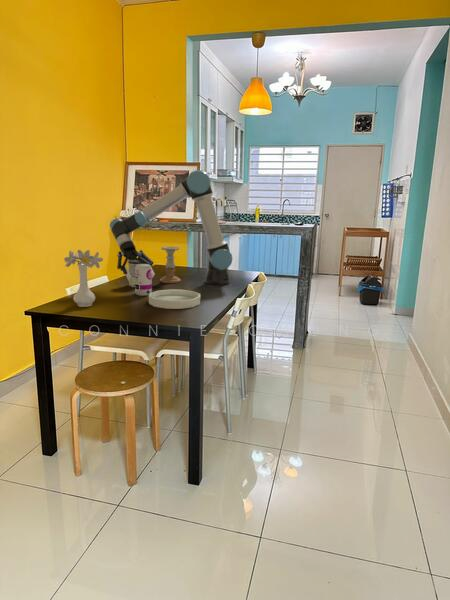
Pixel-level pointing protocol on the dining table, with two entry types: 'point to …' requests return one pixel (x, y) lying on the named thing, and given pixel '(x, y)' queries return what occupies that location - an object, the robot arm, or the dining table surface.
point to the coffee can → (132, 271)
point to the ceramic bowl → (174, 299)
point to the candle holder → (170, 266)
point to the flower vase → (83, 275)
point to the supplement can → (143, 279)
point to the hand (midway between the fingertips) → (141, 277)
